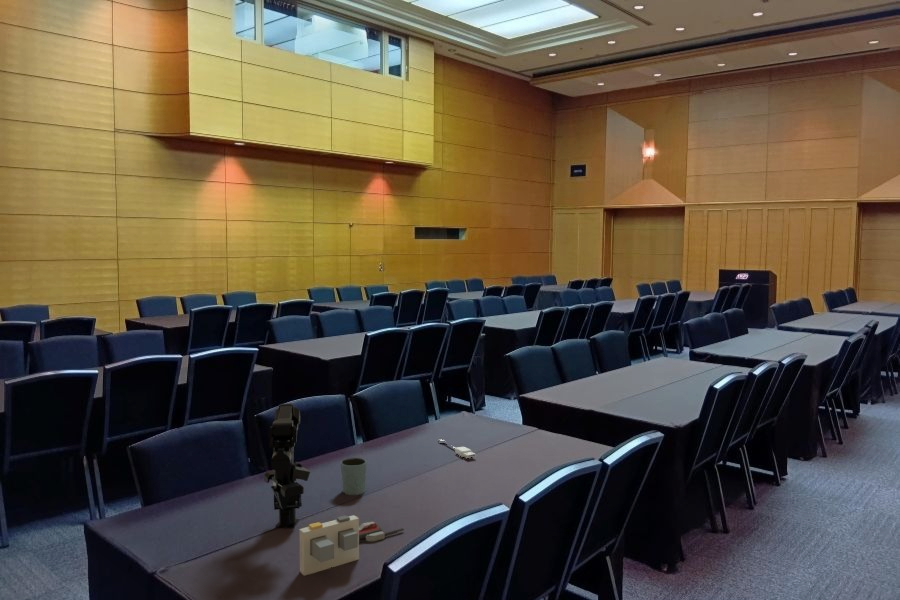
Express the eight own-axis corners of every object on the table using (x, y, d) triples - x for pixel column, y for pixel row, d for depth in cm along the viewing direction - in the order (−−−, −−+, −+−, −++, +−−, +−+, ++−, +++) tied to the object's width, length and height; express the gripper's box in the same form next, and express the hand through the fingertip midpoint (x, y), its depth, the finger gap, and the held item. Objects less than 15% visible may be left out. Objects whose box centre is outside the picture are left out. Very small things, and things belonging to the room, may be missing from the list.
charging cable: (443, 443, 332) (443, 436, 332) (476, 459, 304) (476, 451, 304) (434, 444, 330) (434, 437, 330) (466, 460, 301) (466, 453, 301)
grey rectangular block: (307, 550, 199) (307, 536, 199) (320, 547, 202) (320, 532, 201) (320, 562, 192) (320, 547, 191) (334, 558, 194) (334, 543, 194)
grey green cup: (361, 497, 257) (361, 466, 256) (336, 494, 259) (336, 464, 258) (370, 487, 267) (369, 458, 266) (345, 485, 269) (345, 456, 268)
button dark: (331, 540, 206) (330, 526, 206) (343, 536, 209) (343, 522, 209) (344, 551, 199) (344, 536, 199) (357, 547, 202) (357, 533, 201)
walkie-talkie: (351, 548, 214) (405, 534, 225) (351, 535, 214) (405, 521, 225) (339, 538, 221) (392, 525, 233) (339, 525, 221) (392, 512, 232)
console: (299, 571, 198) (299, 526, 197) (354, 555, 209) (354, 512, 208) (304, 575, 196) (303, 530, 195) (358, 559, 206) (358, 515, 205)
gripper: (319, 464, 210) (319, 512, 212) (295, 449, 225) (295, 494, 227) (285, 471, 204) (285, 521, 205) (263, 455, 219) (263, 502, 220)
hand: (283, 509), depth 214 cm, fingers closed
